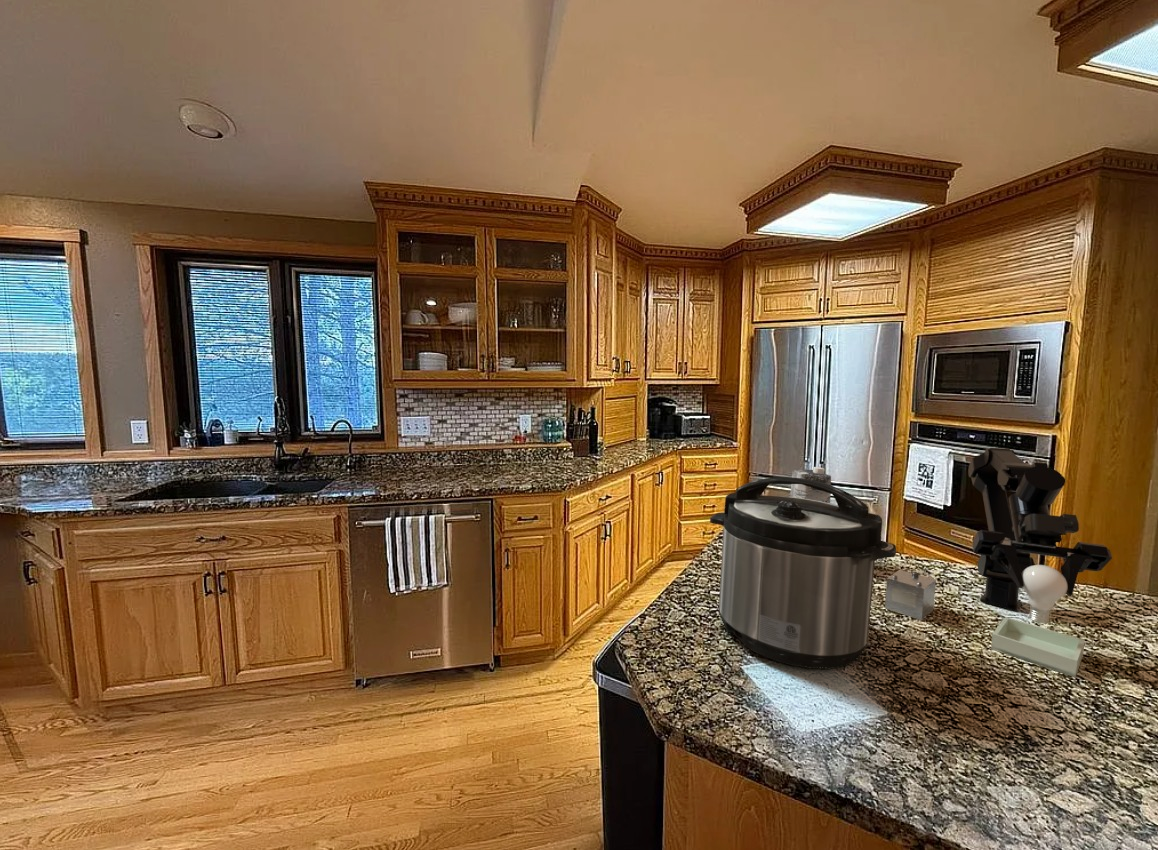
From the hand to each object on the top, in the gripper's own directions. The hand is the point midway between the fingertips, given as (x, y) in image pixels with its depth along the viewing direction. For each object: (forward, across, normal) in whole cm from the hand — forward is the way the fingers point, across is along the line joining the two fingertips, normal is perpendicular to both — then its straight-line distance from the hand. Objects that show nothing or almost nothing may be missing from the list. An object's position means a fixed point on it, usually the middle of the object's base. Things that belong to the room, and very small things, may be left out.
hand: (1045, 591), depth 88 cm
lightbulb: (+4, 0, +6) cm, 7 cm away
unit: (+2, -19, +16) cm, 25 cm away
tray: (+8, 0, +10) cm, 12 cm away
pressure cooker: (+20, -41, -2) cm, 46 cm away
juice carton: (-13, -42, +32) cm, 54 cm away
